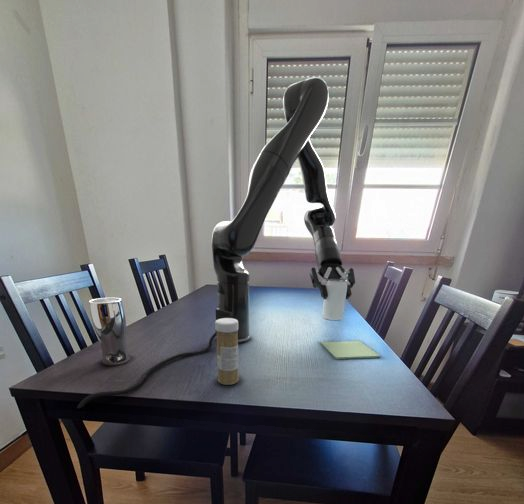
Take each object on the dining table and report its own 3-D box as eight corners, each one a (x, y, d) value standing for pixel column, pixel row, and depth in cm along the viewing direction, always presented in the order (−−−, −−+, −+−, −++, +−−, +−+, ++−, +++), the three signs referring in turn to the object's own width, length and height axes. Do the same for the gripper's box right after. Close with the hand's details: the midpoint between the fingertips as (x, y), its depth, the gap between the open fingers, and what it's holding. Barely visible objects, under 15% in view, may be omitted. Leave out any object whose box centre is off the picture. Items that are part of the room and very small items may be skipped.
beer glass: (96, 360, 69) (83, 299, 64) (125, 353, 74) (115, 296, 69) (107, 369, 65) (94, 304, 60) (136, 360, 70) (127, 300, 64)
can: (321, 319, 87) (325, 280, 83) (322, 315, 93) (327, 277, 88) (342, 322, 85) (348, 281, 81) (343, 317, 91) (348, 279, 87)
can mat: (336, 359, 73) (336, 357, 73) (321, 343, 84) (321, 341, 84) (379, 357, 74) (380, 355, 74) (359, 342, 85) (359, 340, 85)
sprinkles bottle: (219, 376, 62) (217, 317, 58) (240, 376, 62) (239, 317, 58) (216, 385, 58) (213, 323, 53) (238, 386, 58) (237, 323, 53)
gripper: (309, 245, 87) (317, 290, 81) (353, 246, 89) (365, 290, 83) (303, 262, 94) (310, 304, 87) (344, 263, 96) (354, 304, 89)
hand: (337, 297), depth 85 cm, fingers closed on can, 6 cm apart
